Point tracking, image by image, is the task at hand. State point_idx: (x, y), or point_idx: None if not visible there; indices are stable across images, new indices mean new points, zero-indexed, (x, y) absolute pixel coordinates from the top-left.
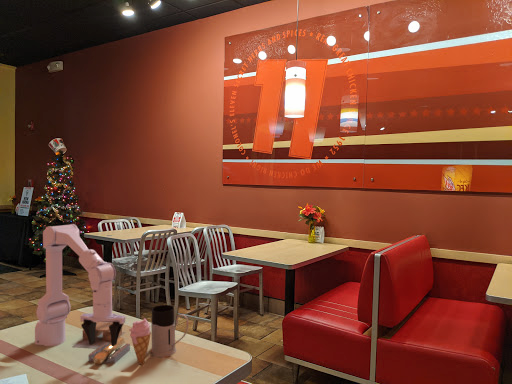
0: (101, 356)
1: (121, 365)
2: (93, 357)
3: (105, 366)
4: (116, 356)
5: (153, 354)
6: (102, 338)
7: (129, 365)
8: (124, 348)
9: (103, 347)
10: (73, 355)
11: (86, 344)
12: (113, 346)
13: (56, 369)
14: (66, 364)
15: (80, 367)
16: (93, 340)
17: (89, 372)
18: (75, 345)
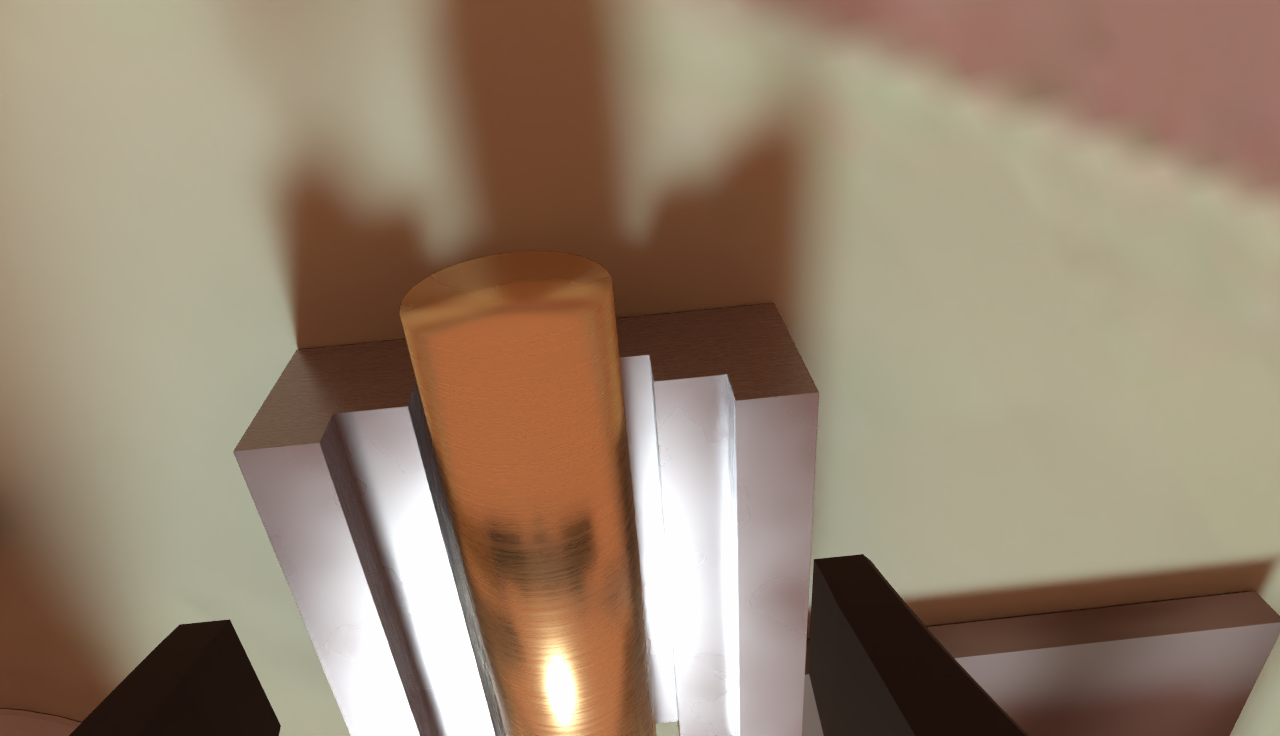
0: (419, 345)
1: (232, 413)
2: (707, 385)
3: None
4: (267, 494)
5: (32, 734)
6: None
7: (109, 443)
8: (345, 715)
9: (735, 667)
10: (1165, 479)
11: (1104, 707)
12: (506, 701)
13: (1269, 17)
14: (1157, 225)
15: (861, 193)
16: (828, 686)
17: (580, 67)
18: (1246, 658)
